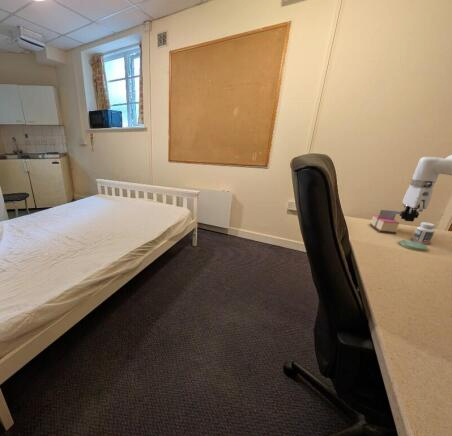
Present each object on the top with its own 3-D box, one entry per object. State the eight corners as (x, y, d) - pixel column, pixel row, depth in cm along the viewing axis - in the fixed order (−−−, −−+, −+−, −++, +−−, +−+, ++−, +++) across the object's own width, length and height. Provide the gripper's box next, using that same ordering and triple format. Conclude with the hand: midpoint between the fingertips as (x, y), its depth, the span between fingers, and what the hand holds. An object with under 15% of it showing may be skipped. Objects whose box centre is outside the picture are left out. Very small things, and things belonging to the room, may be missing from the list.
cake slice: (384, 224, 118) (387, 216, 117) (389, 227, 114) (392, 218, 113) (370, 223, 120) (373, 214, 119) (374, 226, 116) (377, 217, 115)
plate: (418, 243, 99) (419, 241, 99) (431, 252, 92) (432, 249, 92) (395, 241, 102) (396, 238, 102) (406, 249, 95) (407, 246, 95)
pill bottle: (430, 242, 101) (438, 224, 98) (427, 245, 98) (436, 226, 95) (413, 238, 105) (420, 220, 102) (410, 240, 102) (418, 223, 99)
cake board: (384, 226, 119) (384, 224, 118) (395, 234, 109) (396, 232, 109) (369, 224, 121) (370, 223, 121) (379, 232, 112) (380, 230, 111)
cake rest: (390, 228, 113) (394, 219, 112) (395, 232, 109) (399, 222, 108) (375, 227, 115) (379, 218, 114) (380, 230, 111) (383, 221, 110)
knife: (412, 221, 110) (416, 212, 109) (415, 222, 109) (419, 213, 107) (376, 218, 115) (380, 209, 113) (378, 219, 113) (382, 210, 112)
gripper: (446, 188, 96) (428, 226, 102) (420, 181, 110) (406, 215, 116) (423, 186, 98) (407, 224, 105) (401, 180, 112) (388, 214, 119)
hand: (406, 219), depth 110 cm, fingers closed on knife, 2 cm apart
